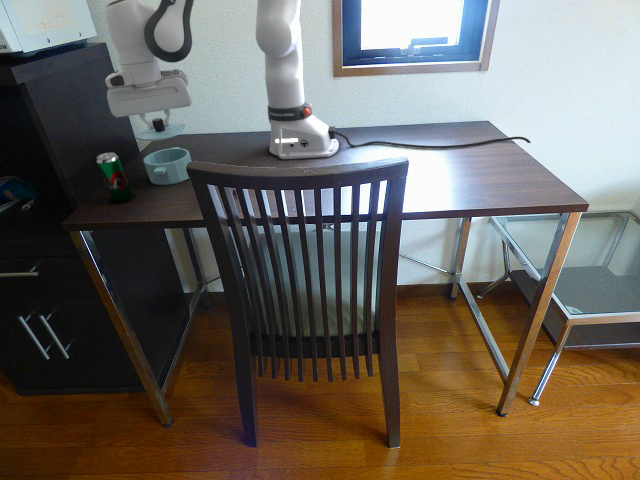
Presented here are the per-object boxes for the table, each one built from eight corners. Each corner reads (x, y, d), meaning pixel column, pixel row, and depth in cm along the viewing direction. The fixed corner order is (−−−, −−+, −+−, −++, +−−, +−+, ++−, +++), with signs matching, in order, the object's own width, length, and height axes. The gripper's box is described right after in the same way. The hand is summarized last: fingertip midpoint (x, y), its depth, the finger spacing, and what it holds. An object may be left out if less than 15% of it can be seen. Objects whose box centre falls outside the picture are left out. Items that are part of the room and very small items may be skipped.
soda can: (136, 194, 103) (121, 151, 97) (127, 203, 99) (110, 159, 93) (119, 194, 104) (102, 151, 97) (108, 203, 100) (90, 159, 93)
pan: (199, 162, 120) (195, 143, 117) (186, 187, 105) (180, 166, 102) (159, 165, 120) (154, 146, 117) (141, 190, 105) (133, 170, 102)
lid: (191, 125, 112) (187, 110, 109) (179, 140, 101) (175, 124, 98) (145, 129, 111) (140, 114, 109) (129, 145, 100) (123, 129, 98)
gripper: (184, 66, 102) (197, 118, 110) (101, 77, 98) (121, 131, 105) (185, 69, 97) (198, 124, 105) (98, 81, 93) (119, 137, 100)
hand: (159, 127), depth 105 cm, fingers closed on lid, 2 cm apart
